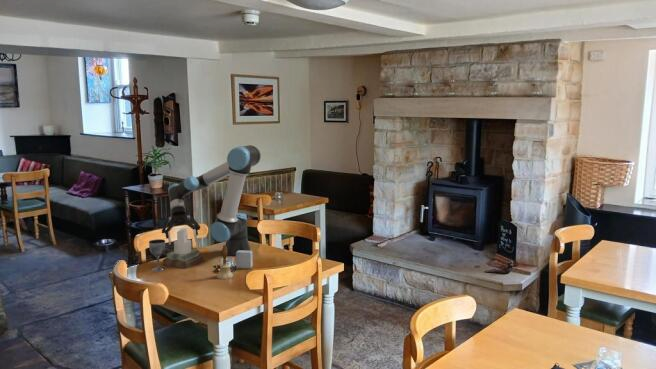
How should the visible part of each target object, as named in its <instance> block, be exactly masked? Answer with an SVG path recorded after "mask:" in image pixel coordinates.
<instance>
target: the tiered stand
mask: <svg viewBox="0 0 656 369" xmlns="http://www.w3.org/2000/svg"><path fill="white" fill-rule="evenodd" d="M202 261H204V254H200V250H199V249H192V252H190V253H187V254H176V253H174V250H172V251H169V252H168V253H166V258H164V259H163V260H162V265H163V266H168V267H176V268H180V269H181V268H182V269H188V268H190V267H192V266H194V265H196V264H199V263H200V262H202Z"/></svg>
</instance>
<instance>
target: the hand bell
mask: <svg viewBox="0 0 656 369" xmlns="http://www.w3.org/2000/svg"><path fill="white" fill-rule="evenodd" d="M221 255H222V264H221V265H219V267H220V268H219V272H218V274H216V278H217V279H220V280H224V279H225V280H228V279H231V278H233V277H234V273H232V271H231V269H230V265H228V264H227V257H228V255H227V248H226V244H223V246H222V249H221Z"/></svg>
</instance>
